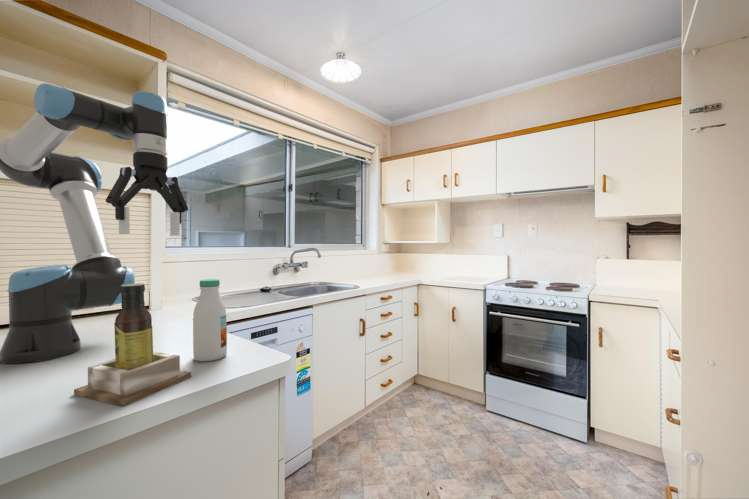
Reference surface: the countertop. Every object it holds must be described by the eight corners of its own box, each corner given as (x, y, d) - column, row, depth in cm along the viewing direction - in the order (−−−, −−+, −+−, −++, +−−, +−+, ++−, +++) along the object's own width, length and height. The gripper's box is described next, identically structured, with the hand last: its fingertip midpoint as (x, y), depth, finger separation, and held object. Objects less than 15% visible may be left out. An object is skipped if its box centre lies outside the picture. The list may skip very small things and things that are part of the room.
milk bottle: (213, 363, 80) (212, 281, 80) (186, 361, 81) (185, 281, 81) (233, 353, 87) (232, 278, 87) (207, 351, 89) (207, 278, 89)
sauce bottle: (124, 376, 69) (123, 282, 69) (158, 373, 71) (156, 281, 71) (109, 389, 63) (107, 286, 63) (146, 385, 65) (144, 285, 65)
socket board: (74, 394, 63) (73, 368, 63) (146, 368, 76) (146, 347, 76) (122, 406, 58) (122, 378, 58) (191, 376, 71) (190, 354, 71)
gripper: (107, 138, 73) (108, 232, 74) (201, 164, 97) (201, 235, 97) (86, 141, 76) (87, 233, 76) (182, 166, 99) (183, 236, 100)
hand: (151, 234), depth 87 cm, fingers open, 13 cm apart
